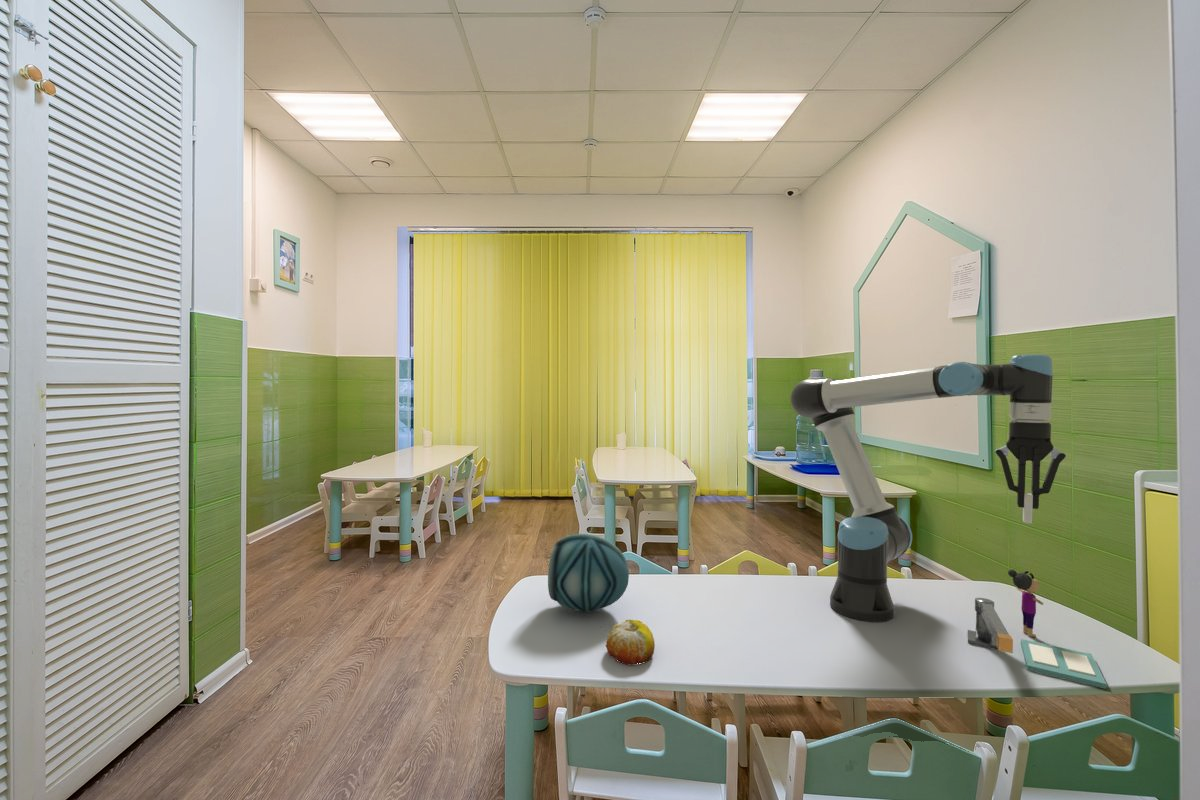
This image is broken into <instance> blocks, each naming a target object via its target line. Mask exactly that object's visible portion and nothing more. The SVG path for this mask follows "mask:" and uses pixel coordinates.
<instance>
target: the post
mask: <svg viewBox="0 0 1200 800" xmlns="http://www.w3.org/2000/svg"><path fill="white" fill-rule="evenodd" d="M975 617H976V618H975V631H974V630H970V629H967V643H968V644H971V645H975V646H979V647H983V648H987V649H993V650H997V651H999V650H998V648H997V646H996V643H995V641H994V639H993V637H992V635H991V633H990V631H989V629H988V627H987V625H986V623H985V621H984V619H983V617H982V615H981V614H980V613H979V612H977V611H975Z"/></svg>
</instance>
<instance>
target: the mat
mask: <svg viewBox="0 0 1200 800" xmlns="http://www.w3.org/2000/svg"><path fill="white" fill-rule="evenodd" d="M1020 646H1021V649H1022V650H1021V651H1022V655H1023V658H1024V659H1023V660H1024V661H1025V662H1024V663H1025V666H1026V670H1027V671H1030V672H1035V673H1039V674H1042V675H1047V676H1051V677H1056V678H1058V679H1063V680H1068V681H1070V682H1071V681H1072V682H1075V683H1081V684H1085V685H1088V686H1093V687H1096V688H1101V689H1104V690H1106V689H1107V682H1106V681H1105V678H1104V676H1103V674H1102V672H1101V671H1100V668H1099V667H1098V665H1097V662H1096V660H1095V658H1094V656H1093V655H1092V653H1087V652H1082V651H1078V650H1074V649H1070V648H1069V649H1068V648H1065V647H1060V646H1056V645H1051V644H1047V643H1042V642H1037V641H1032V640H1028V639H1024V638H1020Z"/></svg>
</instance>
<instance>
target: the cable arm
mask: <svg viewBox="0 0 1200 800" xmlns="http://www.w3.org/2000/svg"><path fill="white" fill-rule="evenodd" d="M974 611H975V612H976V611H977V612H979V613H980V614H981V615H982V617H983V619H984V621H985V623H986V625H987V627H988V629H989V631H990V633H991V635H992V637H993V639H994V641H995V643H996V646H997V648H998V650H997V651H999V652H1004V653H1008V654H1013V652H1014V651H1013V650H1014V649H1013V647H1014V639H1013V636H1012V635H1011V634H1009V632H1008V630H1007V629H1006V627H1005V625H1004V624H1003V622H1002V619H1001V618H1000V616H999V614H998V613H997V612H996V611H997V610H995V602H994V601H993V600H992V599H988V598H985V597H975V598H974Z"/></svg>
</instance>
